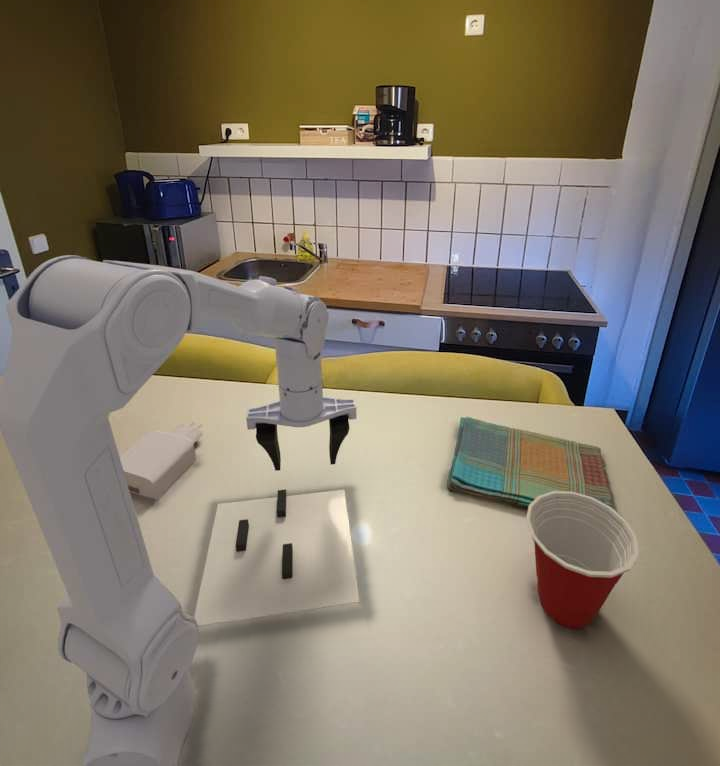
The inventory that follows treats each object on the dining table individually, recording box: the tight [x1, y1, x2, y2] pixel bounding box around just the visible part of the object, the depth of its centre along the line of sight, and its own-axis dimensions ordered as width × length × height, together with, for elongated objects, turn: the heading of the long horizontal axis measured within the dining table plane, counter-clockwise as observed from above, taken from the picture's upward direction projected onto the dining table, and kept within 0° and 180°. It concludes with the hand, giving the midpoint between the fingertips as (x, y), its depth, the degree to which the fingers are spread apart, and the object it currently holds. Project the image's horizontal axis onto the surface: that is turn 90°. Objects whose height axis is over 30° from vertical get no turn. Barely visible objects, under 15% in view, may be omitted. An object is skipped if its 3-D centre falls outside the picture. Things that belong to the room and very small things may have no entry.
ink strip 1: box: [236, 519, 249, 552], centre depth 57 cm, size 4×1×1 cm, turn 8°
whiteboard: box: [193, 489, 360, 627], centre depth 56 cm, size 18×20×1 cm
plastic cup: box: [525, 491, 640, 630], centre depth 48 cm, size 11×11×12 cm
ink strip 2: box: [276, 489, 287, 518], centre depth 62 cm, size 4×1×1 cm, turn 8°
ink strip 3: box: [282, 543, 293, 579], centre depth 53 cm, size 4×1×1 cm, turn 8°
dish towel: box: [446, 416, 616, 511], centre depth 69 cm, size 17×23×2 cm
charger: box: [119, 421, 203, 501], centre depth 71 cm, size 5×9×15 cm
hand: (305, 462), depth 61 cm, fingers open, 7 cm apart
